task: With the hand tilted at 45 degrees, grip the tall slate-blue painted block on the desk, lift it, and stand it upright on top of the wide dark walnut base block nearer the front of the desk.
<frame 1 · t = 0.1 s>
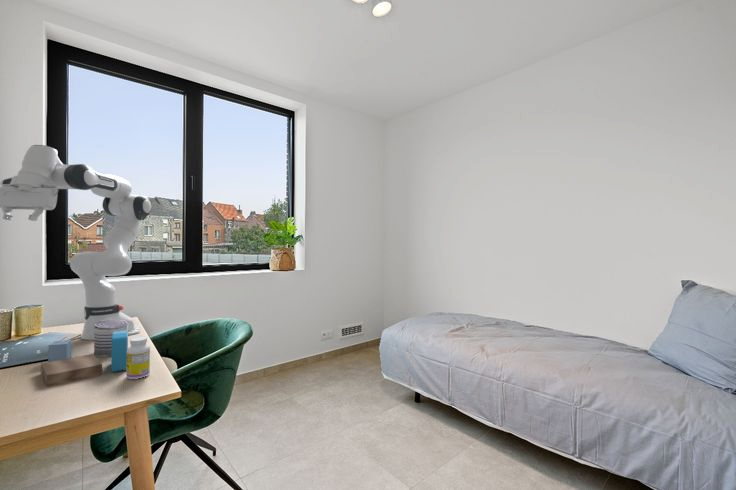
hand: (19, 220, 125), 52 cm above the table, tool tilted 20°, fingers open, 8 cm apart
slate blue block: (60, 362, 129), on the table
walnut base block: (71, 375, 119), on the table
supplement bottle: (138, 376, 119), on the table
can: (111, 352, 143), on the table
data package: (119, 367, 127), on the table
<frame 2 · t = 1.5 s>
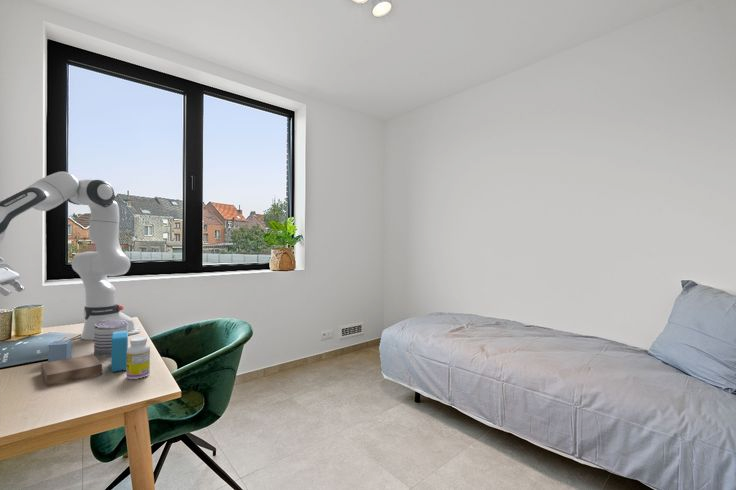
hand: (16, 292, 124), 26 cm above the table, tool tilted 45°, fingers open, 8 cm apart
nothing on the table moved.
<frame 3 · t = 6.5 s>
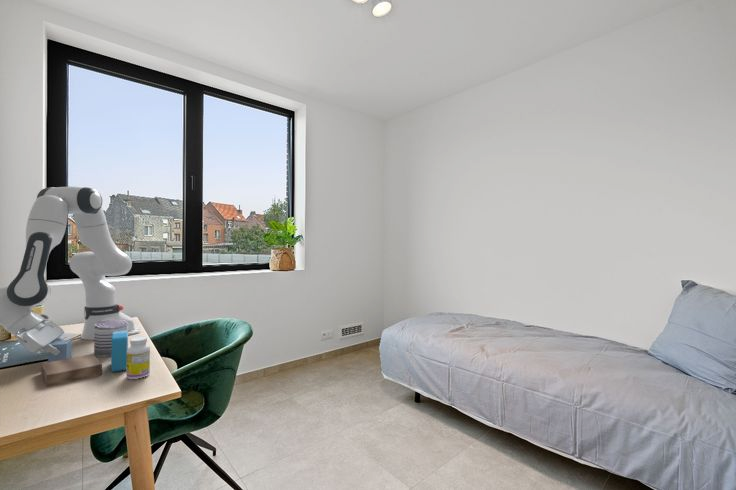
hand: (62, 350, 130), 4 cm above the table, tool tilted 45°, fingers closed on slate blue block, 5 cm apart
slate blue block: (60, 362, 129), on the table, touching gripper
everything else where it was.
when the fingers open (9 cm above the table, at t = 14.4 s): slate blue block drops 1 cm, point 3 cm above the table.
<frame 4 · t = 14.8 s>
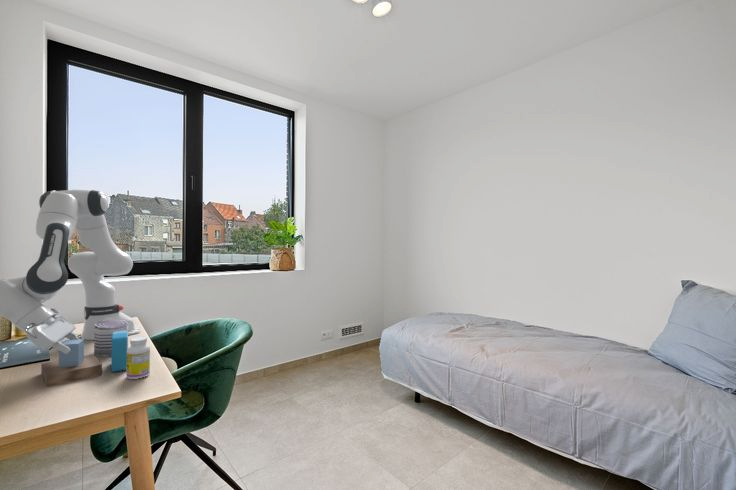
hand: (74, 347, 120), 9 cm above the table, tool tilted 45°, fingers open, 8 cm apart
slate blue block: (71, 363, 119), point 3 cm above the table
everything else where it was.
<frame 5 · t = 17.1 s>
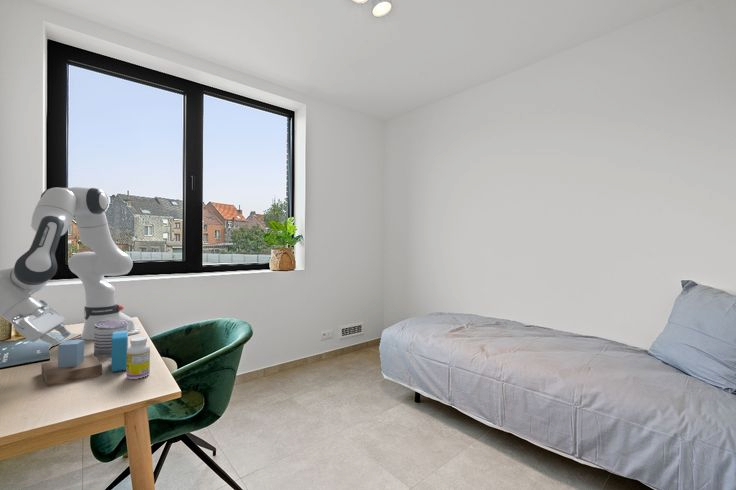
hand: (63, 339, 118), 12 cm above the table, tool tilted 45°, fingers open, 8 cm apart
nothing on the table moved.
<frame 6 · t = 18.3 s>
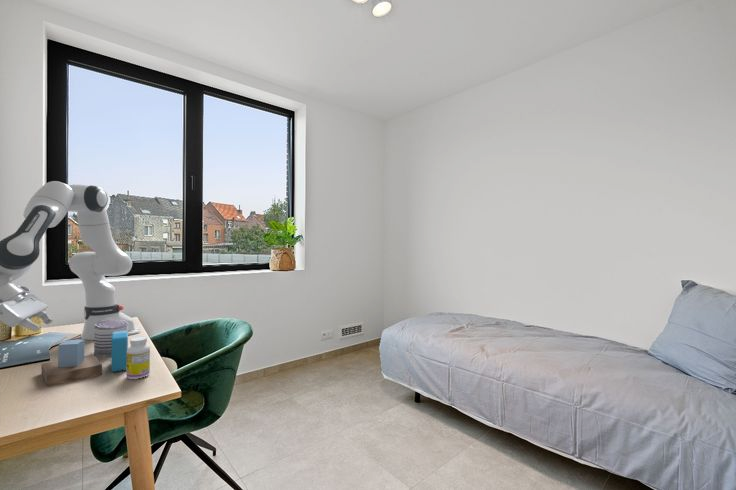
hand: (44, 326, 116), 17 cm above the table, tool tilted 45°, fingers open, 8 cm apart
slate blue block: (71, 364, 119), point 3 cm above the table, touching walnut base block
walnut base block: (71, 375, 119), on the table, touching slate blue block
everything else where it was.
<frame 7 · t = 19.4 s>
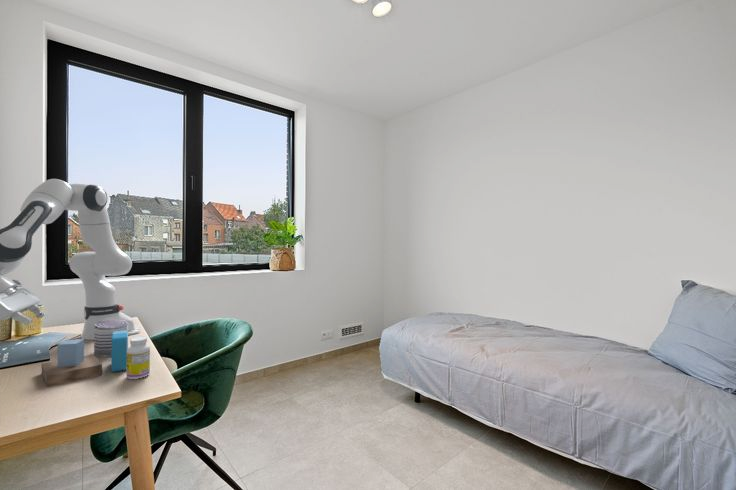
hand: (36, 319, 115), 19 cm above the table, tool tilted 45°, fingers open, 8 cm apart
nothing on the table moved.
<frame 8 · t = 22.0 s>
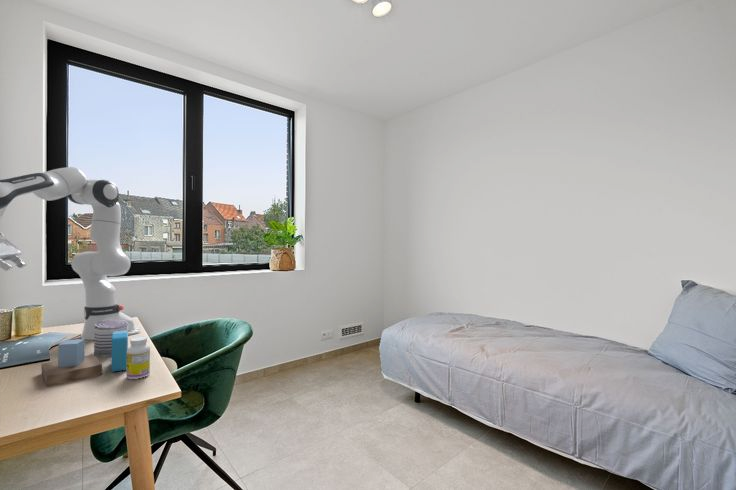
hand: (16, 267, 120), 35 cm above the table, tool tilted 45°, fingers open, 8 cm apart
slate blue block: (71, 363, 120), point 3 cm above the table
walnut base block: (71, 375, 119), on the table
everything else where it was.
at the end: slate blue block inside the target area on the walnut base block (0.3 cm from its centre), point 4.0 cm above the walnut base block's base; slate blue block tilted 0°; the gripper is holding nothing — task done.
